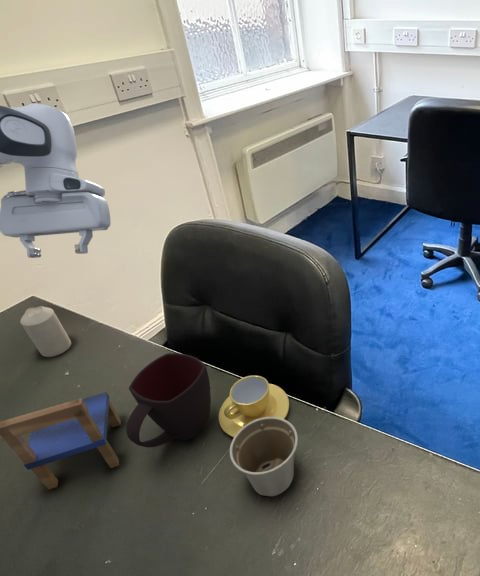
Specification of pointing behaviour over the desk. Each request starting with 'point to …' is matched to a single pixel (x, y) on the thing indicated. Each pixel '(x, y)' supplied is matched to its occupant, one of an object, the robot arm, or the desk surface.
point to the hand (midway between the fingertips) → (58, 255)
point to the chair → (62, 434)
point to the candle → (45, 331)
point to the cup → (252, 403)
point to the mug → (171, 398)
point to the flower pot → (266, 454)
